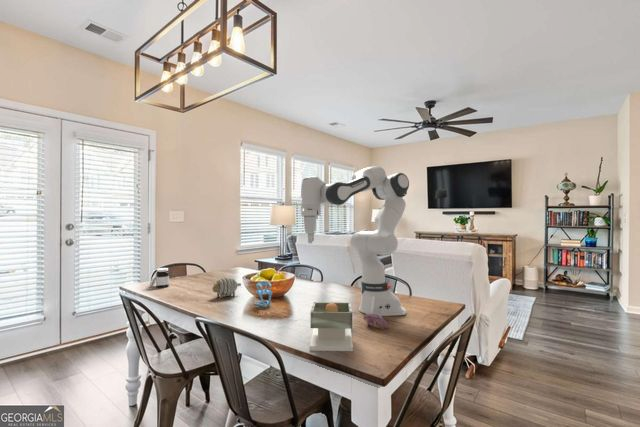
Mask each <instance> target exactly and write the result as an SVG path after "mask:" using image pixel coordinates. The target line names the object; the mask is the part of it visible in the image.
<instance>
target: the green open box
mask: <svg viewBox="0 0 640 427" xmlns="http://www.w3.org/2000/svg"><path fill="white" fill-rule="evenodd" d="M329 303H334V304H336V305H337V307H338V312H325V307H326V305H327V304H329ZM313 328H334V329H351V330H353V310H352V304H351V302H340V301H339V302H337V301H335V302H331V301H330V302H328V301H326V302H324V301H321V302H320V301H319V302H317V301H313V303H312V306H311V309H310V329H313Z"/></svg>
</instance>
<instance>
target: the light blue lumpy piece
mask: <svg viewBox="0 0 640 427" xmlns="http://www.w3.org/2000/svg"><path fill="white" fill-rule="evenodd" d="M268 285H269V289H267V288H268ZM263 286H265V287H264V289H263ZM255 294H257V295H258V296H259V297H260V300H261V301H257V302H256V301H255V302H254V303H253V304H254V306H259V307H263V308H266V307H271V299H272V295H273V291H272V284H271V283H270V282H269V281H264V280H262V281H259V282H258V283H256V290H255ZM265 295H268V300H264V298H263V296H265ZM266 304H267V305H266Z"/></svg>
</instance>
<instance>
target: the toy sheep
mask: <svg viewBox="0 0 640 427" xmlns="http://www.w3.org/2000/svg"><path fill="white" fill-rule="evenodd" d="M241 286H242V283H240V282H239V283H238V282H237V281H236V279H235V278H233V277H226V276H225V277H222V278H220V279H217V281H216V283H213V286H212V291H213V293H217V294H216V297H217V298H220V299H223V297H224V296H225V297H228V296H232V297H235V296H236V295H235V294H236V290H237V289H238V287H241Z"/></svg>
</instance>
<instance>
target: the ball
mask: <svg viewBox="0 0 640 427" xmlns="http://www.w3.org/2000/svg"><path fill="white" fill-rule="evenodd" d="M325 312H338V307H337V305H336V304H334V303H329V304H327V305H326V307H325Z"/></svg>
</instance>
